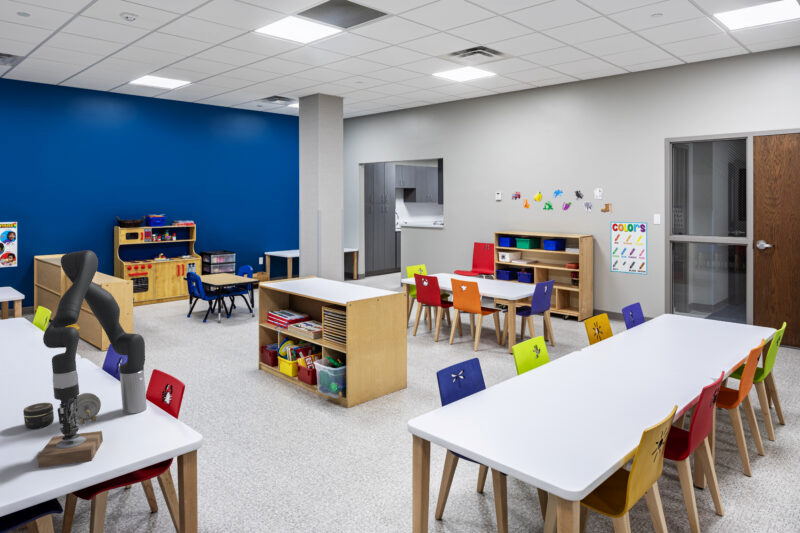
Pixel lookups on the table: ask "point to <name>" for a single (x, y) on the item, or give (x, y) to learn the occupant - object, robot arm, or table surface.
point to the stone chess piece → (73, 429)
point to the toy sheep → (87, 407)
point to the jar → (38, 415)
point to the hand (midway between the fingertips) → (70, 429)
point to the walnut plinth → (70, 449)
